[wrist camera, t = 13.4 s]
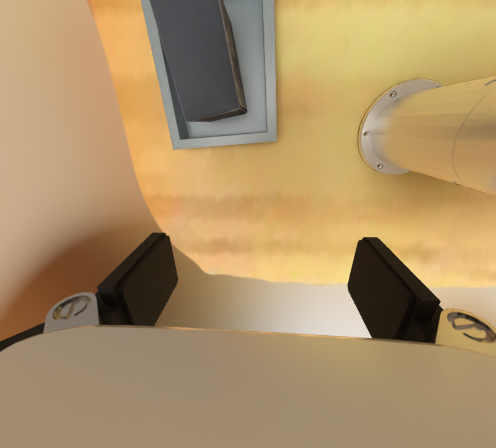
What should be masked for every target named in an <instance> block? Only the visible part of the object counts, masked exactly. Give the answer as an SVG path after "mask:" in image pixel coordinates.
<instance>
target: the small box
mask: <svg viewBox="0 0 496 448" xmlns="http://www.w3.org/2000/svg"><path fill="white" fill-rule="evenodd" d="M149 1H150V5H151V8H152V11H153V15H154V18H155V21H156V24H157V28H158V31H159V34H160V37H161V41H162V44H163V47H164V51H165V54H166V57H167V60H168V64H169V67H170V70H171V74H172V77H173V80H174V84H175V87H176V90H177V94H178V97H179V101H180V104H181V107H182V111H183V114H184V118H185V121H186V122H212V121H216V120H221V119H225V118H229V117H233V116H238V115H242V114H246V113H247V107H246V101H245V96H244V90H243V84H242V79H241V74H240V68H239V61H238V55H237V51H236V45H235V40H234V36H233V31H232V25H231V21H230V19H229V16H228V14H227V11H226V8H225V5H224V1H223V0H149Z"/></svg>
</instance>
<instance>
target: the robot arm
mask: <svg viewBox="0 0 496 448" xmlns="http://www.w3.org/2000/svg"><path fill="white" fill-rule="evenodd" d="M390 93H391V97H390ZM364 132H365V133H366V134H365V135H363V134H364ZM358 146H359V151H360V154H361V156H362V158H363V160H364V161H365V162H366V164H367V165H368V166H370V167H371V168H372V169H374V170H376V171H378V172H381V173H384V174H391V175H395V174H403V173H407V172H410V171H415V172H418V173H422V174H425V175H428V176H431V177H435V178H438V179H441V180H444V181H448V182H451V183H454V184H457V185H461V186H464V187H468V188H471V189H475V190H478V191H481V192H484V193H488V194H492V195H496V76H492V77H487V78H482V79H477V80H473V81H468V82H463V83H458V84H453V85H448V86H443V85H442V84H440V83H438V82H436V81H433V80H429V79H414V80H409V81H406V82H403V83H399V84H397V85H395V86H393V87H391V88H390V89H388V90H387V91H385V92H384V93H383V94H381V95H380V96H379V97H378V98H377V99H376V100H375V101H374V102H373V104H372V105H371V106H370V108H369V109H368V110H367V112H366V114H365V116H364V118H363V120H362V123H361V126H360V129H359V135H358ZM378 164H379V166H378ZM177 282H178V276H177V271H176V266H175V261H174V256H173V251H172V246H171V241H170V237H169V236H167V235H166V234H165V233H152V234H151V235H150V236H149V237H148V238H147V239H146V240H145V241H144V242H143V243H141V244H140V246H138V247H137V248H136V249H135V250H134V251H133V252H132V253H131V254H130V255H129V256H128V257H127V258H126V259H125V260H124V261H123V262H122V263H121V264H120V265H119V266H118V267H117V268H116V269H115V270H114V271H113V272H112V273H111V274H110V275H109V276H108V277H107V278H106V279H105V280H104V281H103V282H101V283H100V285H98V286H97V288H98V292H97V293H96V294H95V295H94V294H92V293H87V292H86V293H79V294H76V295H72V296H70V297H67V298H65V299H64V300H62V301H60V302H58V303H57V304H56V305H55V306H53V307H52V308H51V310H50V311H49V312H48V314H47V316H46V322H45V323H42V324H40V325H38V326H35V327H33V328H31V329H28V330H26V331H24V332H21V333H19V334H17V335H14V336H12V337H10V338H7V339H5V340H3V341H1V342H0V448H496V328H495V327H494V326H493V325H491V324H490V323H489V322H487V321H485V320H484V319H482V318H480V317H479V316H476V315H474V314H472V313H470V312H466V311H464V310H459V309H454V308H452V309H451V308H450V309H445V310H443V309H442V308H441V307H440V306H439V304H440V302H441V301H440V300H439V299H438V298H437V297H436V296H435V295H434V294H433V293H432V292H431V291H430V290H429V289H428V288H427V287H426V286H425V285H424V284H423V283H422V282H421V281H420V280H419V279H418V278H417V277H416V276H415V275H414V274H413V273H412V272H411V271H410V270H409V269H408V268H407V267H406V266H405V265H404V264H403V263H402V262H401V261H400V260H399V258H398V257H397V256H396V255H395V254H394V253H393V252H392V251H391V250H390V249H389V248H388V247H387V246H386V245H385V244H384V243H383V242H382V241H381V240H380V239H379V238H377V237H364V238H363V239H362V240H359V241H358V244H357V248H356V252H355V256H354V260H353V264H352V268H351V273H350V277H349V281H348V291H349V293H350V295H351V297H352V299H353V301H354V303H355V305H356V307H357V309H358V311H359V313H360V315H361V317H362V319H363V321H364V323H365V325H366V327H367V329H368V331H369V333H370V335H371V337H372V338H361V337H343V336H328V335H310V334H293V333H274V332H258V331H257V332H256V331H238V330H219V329H199V328H179V327H158V326H154V325H155V323H156V322H157V320H158V318H159V316H160V314H161V312H162V311H163V309H164V307H165V305H166V303H167V301H168V300H169V298H170V296H171V294H172V292H173V290H174V289H175V287H176V285H177Z"/></svg>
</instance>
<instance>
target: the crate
mask: <svg viewBox="0 0 496 448" xmlns="http://www.w3.org/2000/svg"><path fill="white" fill-rule="evenodd" d="M223 1H224V5H225V8H226V11H227V14H228V16H229V19H230V21H231V25H232V31H233V36H234V40H235V45H236V51H237V55H238V61H239V68H240V74H241V79H242V84H243V90H244V96H245V101H246V107H247V113H246V114H242V115H238V116H233V117H229V118H225V119H221V120H216V121H212V122H186V121H185V118H184V114H183V111H182V107H181V104H180V101H179V97H178V94H177V90H176V87H175V84H174V80H173V77H172V74H171V70H170V67H169V64H168V60H167V57H166V54H165V51H164V47H163V44H162V41H161V37H160V34H159V31H158V28H157V24H156V21H155V18H154V15H153V11H152V8H151V5H150V1H149V0H141V3H142V8H143V12H144V17H145V21H146V26H147V31H148V35H149V40H150V44H151V49H152V54H153V58H154V63H155V67H156V72H157V76H158V81H159V86H160V90H161V95H162V99H163V104H164V109H165V113H166V118H167V122H168V127H169V131H170V136H171V141H172V145H173V150H176V149H188V148H201V147H213V146H225V145H237V144H250V143H262V142H274V141H277V119H276V70H275V20H274V0H223Z"/></svg>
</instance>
